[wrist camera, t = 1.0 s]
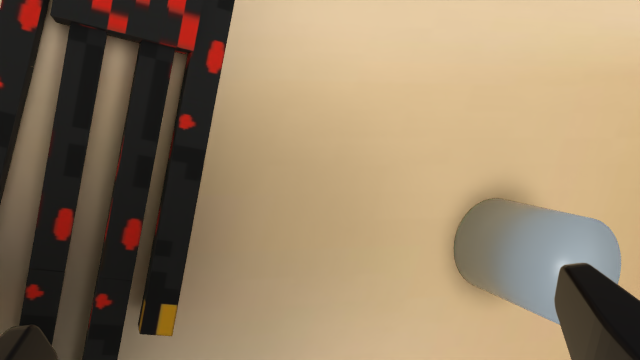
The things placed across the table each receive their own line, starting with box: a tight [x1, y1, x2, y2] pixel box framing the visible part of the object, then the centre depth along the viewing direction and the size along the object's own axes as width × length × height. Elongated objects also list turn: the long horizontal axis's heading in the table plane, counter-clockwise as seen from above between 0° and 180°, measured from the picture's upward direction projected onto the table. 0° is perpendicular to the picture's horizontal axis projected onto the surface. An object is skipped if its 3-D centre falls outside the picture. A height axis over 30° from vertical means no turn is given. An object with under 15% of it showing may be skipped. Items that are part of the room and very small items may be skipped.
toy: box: [0, 0, 235, 360], centre depth 21 cm, size 8×5×30 cm
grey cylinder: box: [454, 198, 621, 325], centre depth 28 cm, size 5×5×6 cm
